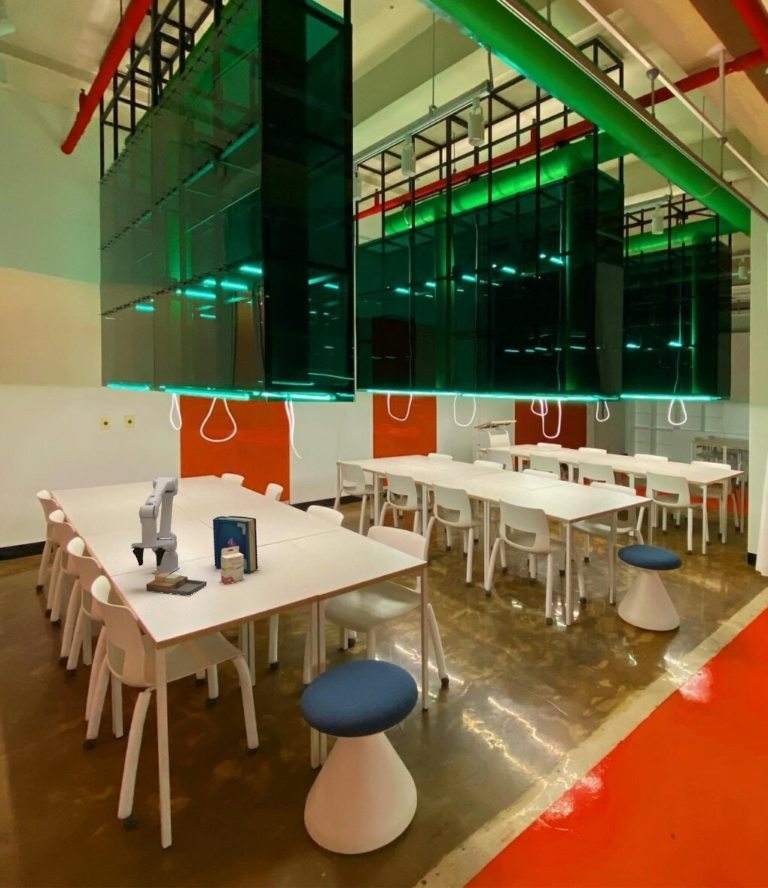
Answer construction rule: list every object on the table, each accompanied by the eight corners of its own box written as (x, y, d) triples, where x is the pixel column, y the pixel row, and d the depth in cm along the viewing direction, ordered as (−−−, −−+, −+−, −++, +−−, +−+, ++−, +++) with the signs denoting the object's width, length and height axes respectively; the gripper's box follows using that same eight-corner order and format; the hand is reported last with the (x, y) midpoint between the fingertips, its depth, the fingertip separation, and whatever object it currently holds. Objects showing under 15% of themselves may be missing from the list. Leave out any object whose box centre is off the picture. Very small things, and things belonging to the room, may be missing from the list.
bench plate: (165, 580, 215) (165, 574, 215) (187, 583, 213) (187, 576, 212) (146, 591, 204) (146, 584, 203) (169, 593, 201) (169, 586, 201)
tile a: (161, 577, 211) (161, 572, 211) (170, 578, 210) (170, 573, 210) (154, 581, 207) (154, 576, 207) (163, 582, 206) (163, 577, 206)
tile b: (171, 578, 210) (171, 574, 210) (181, 579, 209) (180, 575, 209) (164, 582, 206) (164, 577, 205) (174, 583, 205) (174, 578, 204)
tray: (188, 583, 213) (188, 579, 213) (206, 585, 211) (206, 581, 210) (170, 593, 201) (170, 589, 201) (189, 596, 199) (189, 591, 199)
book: (211, 568, 232) (210, 516, 230) (221, 563, 239) (220, 513, 237) (249, 574, 224) (248, 521, 222) (258, 569, 231) (258, 517, 229)
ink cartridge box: (225, 584, 212) (225, 551, 211) (220, 581, 216) (220, 548, 214) (244, 580, 217) (243, 547, 216) (239, 577, 221) (239, 545, 220)
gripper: (127, 535, 201) (127, 567, 202) (161, 535, 201) (162, 568, 201) (136, 531, 208) (136, 563, 209) (169, 532, 208) (170, 563, 208)
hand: (149, 565), depth 206 cm, fingers open, 7 cm apart
